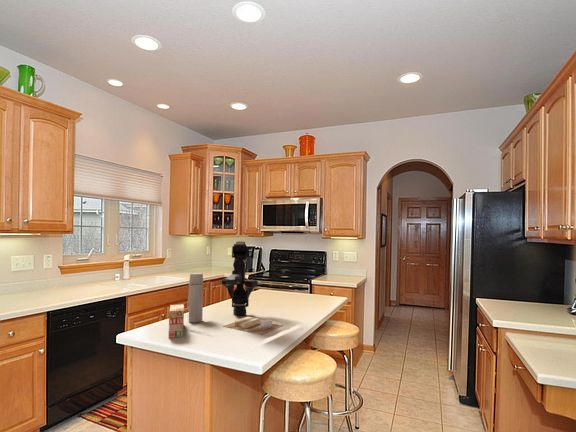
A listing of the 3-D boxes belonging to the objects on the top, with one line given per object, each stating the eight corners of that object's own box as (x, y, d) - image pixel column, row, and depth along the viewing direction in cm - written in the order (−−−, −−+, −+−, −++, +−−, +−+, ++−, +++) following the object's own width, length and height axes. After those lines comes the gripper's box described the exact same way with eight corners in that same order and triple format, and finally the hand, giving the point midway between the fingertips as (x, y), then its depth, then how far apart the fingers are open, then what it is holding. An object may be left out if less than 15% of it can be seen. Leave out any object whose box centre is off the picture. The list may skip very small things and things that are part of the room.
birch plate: (234, 326, 165) (234, 320, 165) (247, 321, 174) (247, 316, 174) (245, 328, 161) (245, 323, 162) (258, 323, 170) (258, 318, 170)
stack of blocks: (170, 325, 171) (171, 301, 171) (183, 324, 173) (184, 300, 173) (168, 338, 150) (169, 310, 151) (183, 337, 152) (183, 309, 153)
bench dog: (260, 330, 159) (260, 322, 159) (269, 326, 164) (269, 319, 165) (263, 330, 158) (263, 323, 158) (272, 327, 164) (272, 319, 164)
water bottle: (205, 320, 181) (206, 273, 182) (196, 323, 174) (197, 274, 175) (192, 318, 185) (193, 272, 186) (182, 321, 178) (183, 273, 179)
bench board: (222, 329, 164) (222, 326, 164) (246, 321, 179) (246, 318, 179) (261, 338, 151) (261, 334, 151) (283, 328, 166) (283, 325, 166)
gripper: (214, 269, 170) (214, 300, 169) (246, 271, 162) (245, 304, 161) (228, 266, 180) (227, 296, 179) (258, 269, 172) (258, 300, 171)
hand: (239, 299), depth 172 cm, fingers open, 9 cm apart
